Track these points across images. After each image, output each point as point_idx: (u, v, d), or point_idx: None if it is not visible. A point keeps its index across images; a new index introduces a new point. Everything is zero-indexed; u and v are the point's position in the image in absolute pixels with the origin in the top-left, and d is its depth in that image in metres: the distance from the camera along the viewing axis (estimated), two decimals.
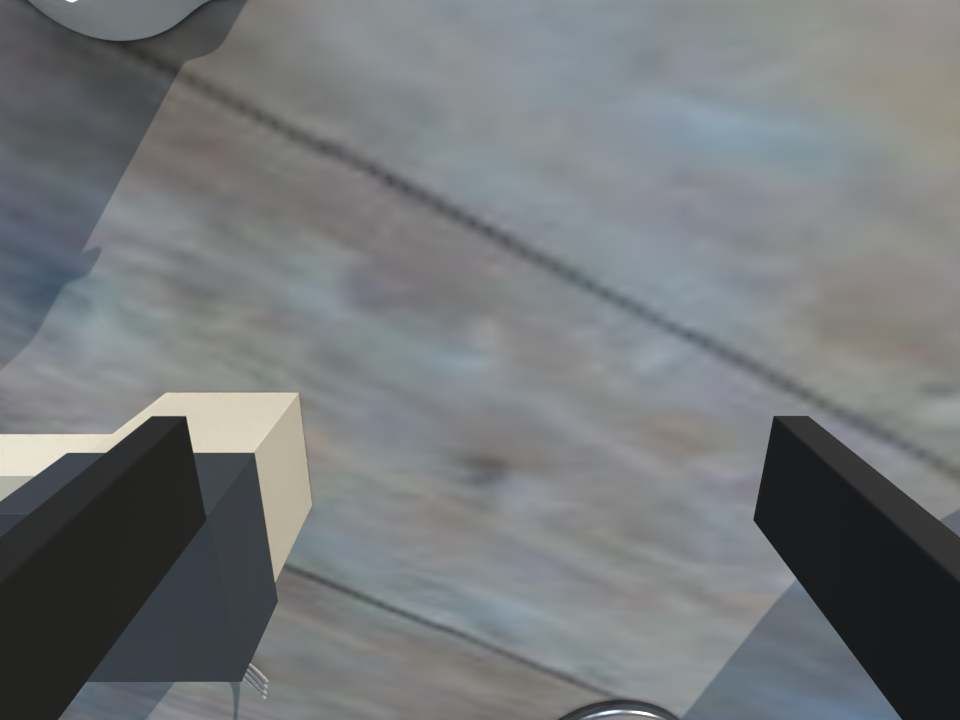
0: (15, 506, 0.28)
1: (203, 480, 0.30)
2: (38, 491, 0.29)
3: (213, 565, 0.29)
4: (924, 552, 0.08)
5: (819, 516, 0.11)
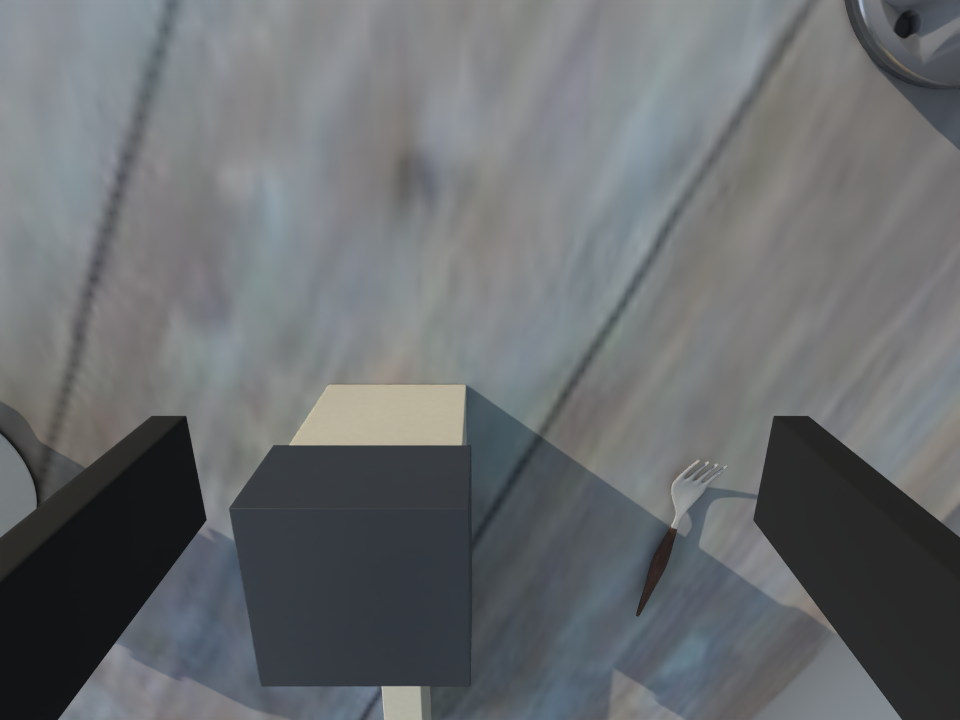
0: None
1: None
2: None
3: (297, 513, 0.26)
4: (924, 552, 0.08)
5: (819, 516, 0.11)
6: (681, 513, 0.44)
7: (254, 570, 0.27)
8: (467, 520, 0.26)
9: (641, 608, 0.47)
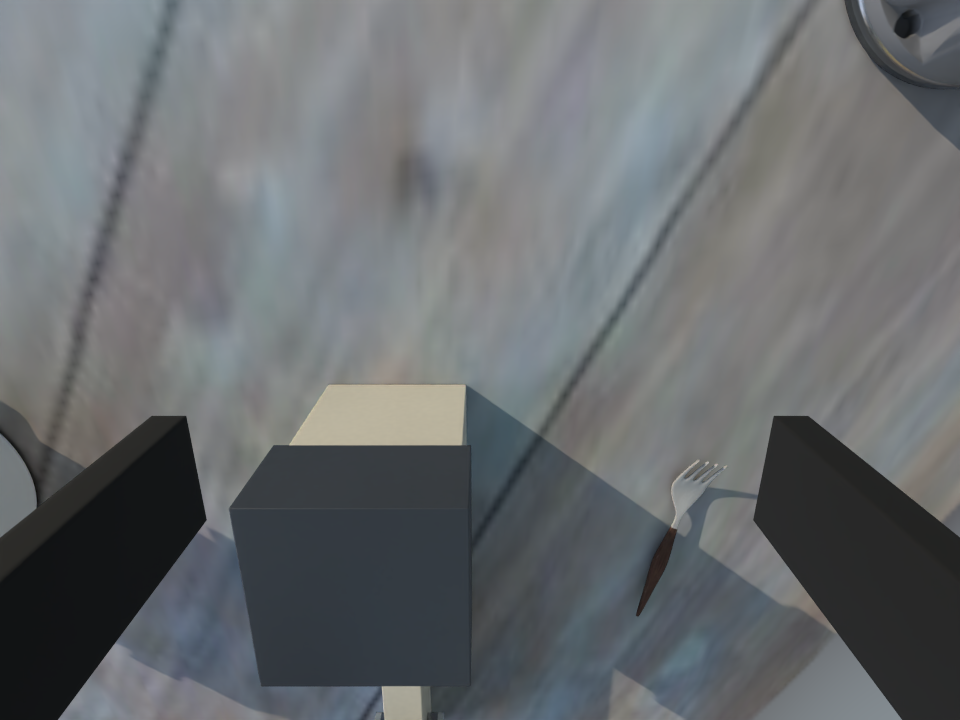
0: None
1: None
2: None
3: (297, 513, 0.26)
4: (924, 552, 0.08)
5: (819, 516, 0.11)
6: (681, 513, 0.44)
7: (253, 570, 0.27)
8: (467, 520, 0.26)
9: (641, 608, 0.47)
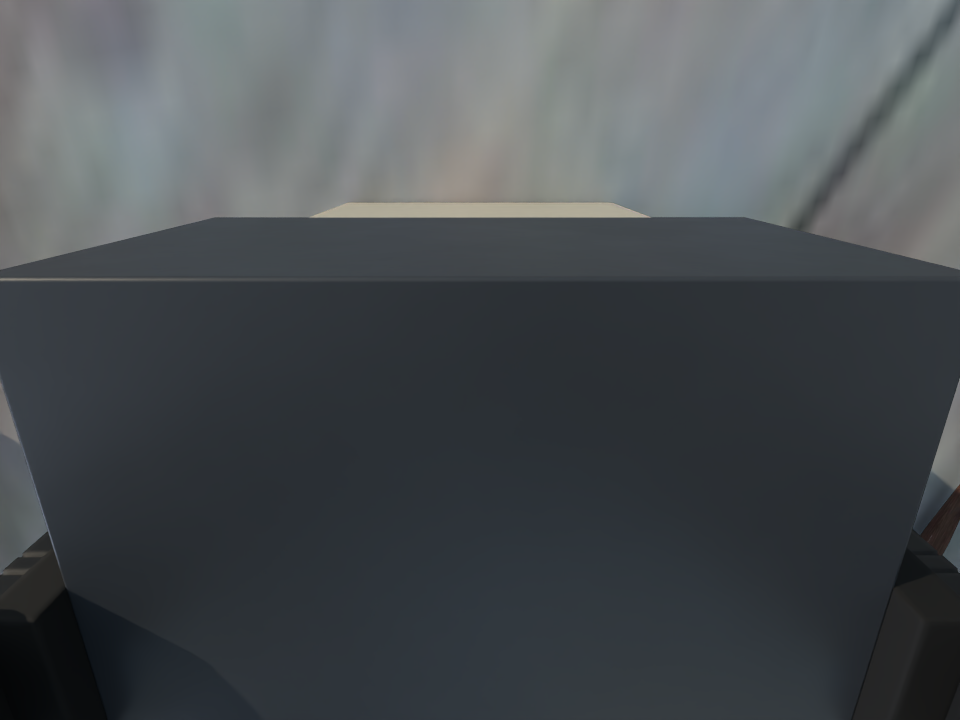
0: None
1: None
2: None
3: (260, 302, 0.06)
4: None
5: None
6: None
7: (105, 546, 0.07)
8: None
9: None
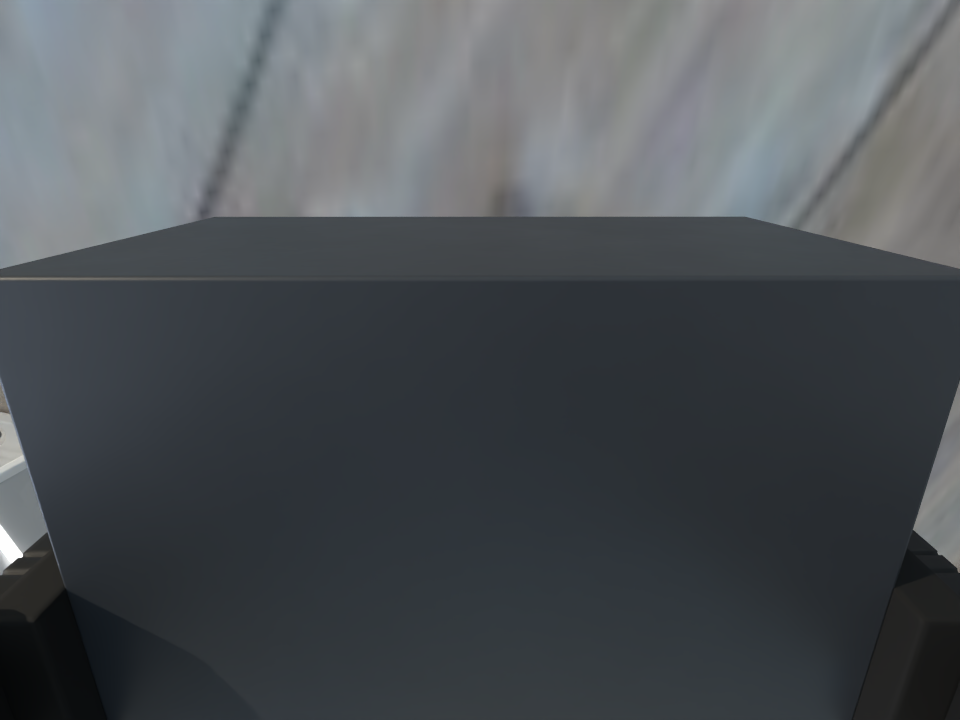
0: None
1: None
2: None
3: (259, 300, 0.06)
4: None
5: None
6: None
7: (103, 546, 0.07)
8: None
9: None
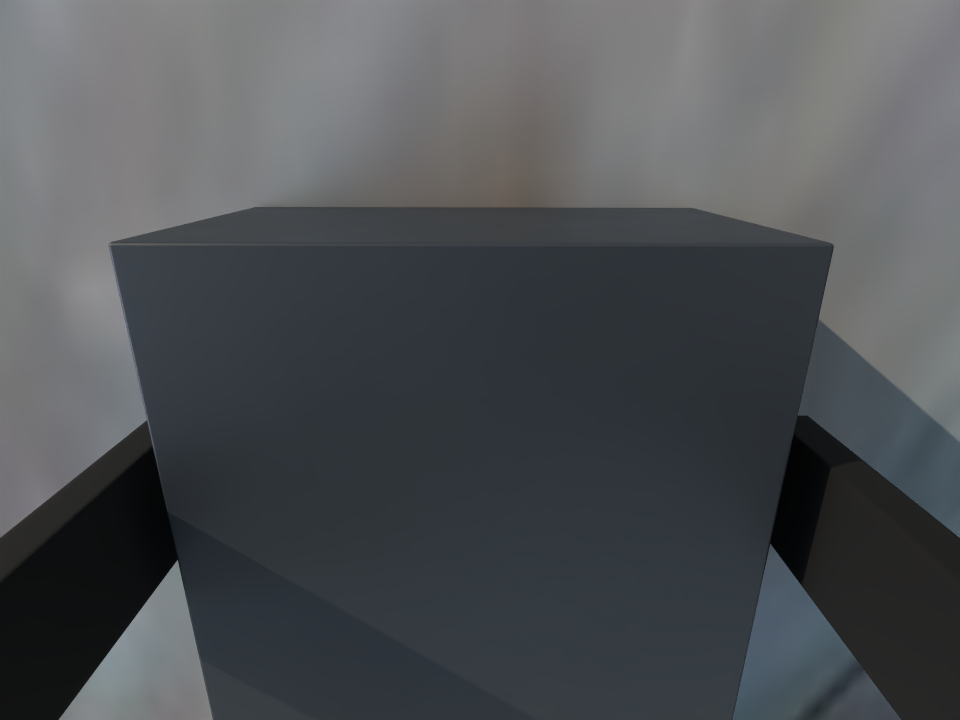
0: None
1: None
2: None
3: (315, 260, 0.09)
4: (923, 551, 0.08)
5: (818, 515, 0.11)
6: None
7: (192, 447, 0.10)
8: (821, 286, 0.09)
9: None
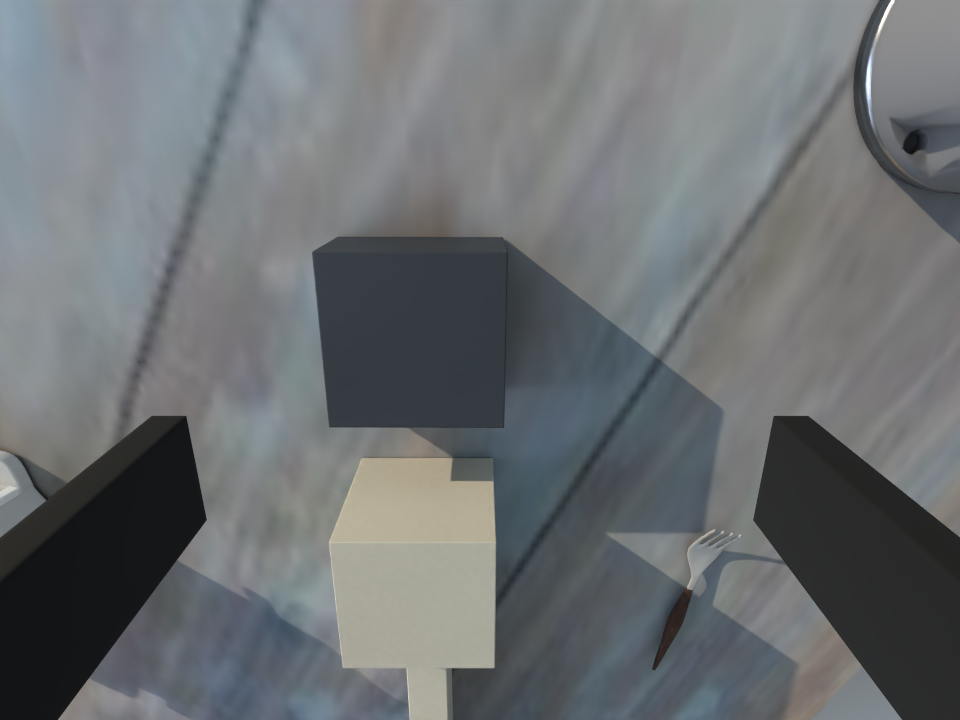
0: None
1: None
2: None
3: (367, 256, 0.32)
4: (924, 552, 0.08)
5: (818, 516, 0.11)
6: (697, 575, 0.46)
7: (329, 311, 0.33)
8: (505, 264, 0.32)
9: (657, 663, 0.49)
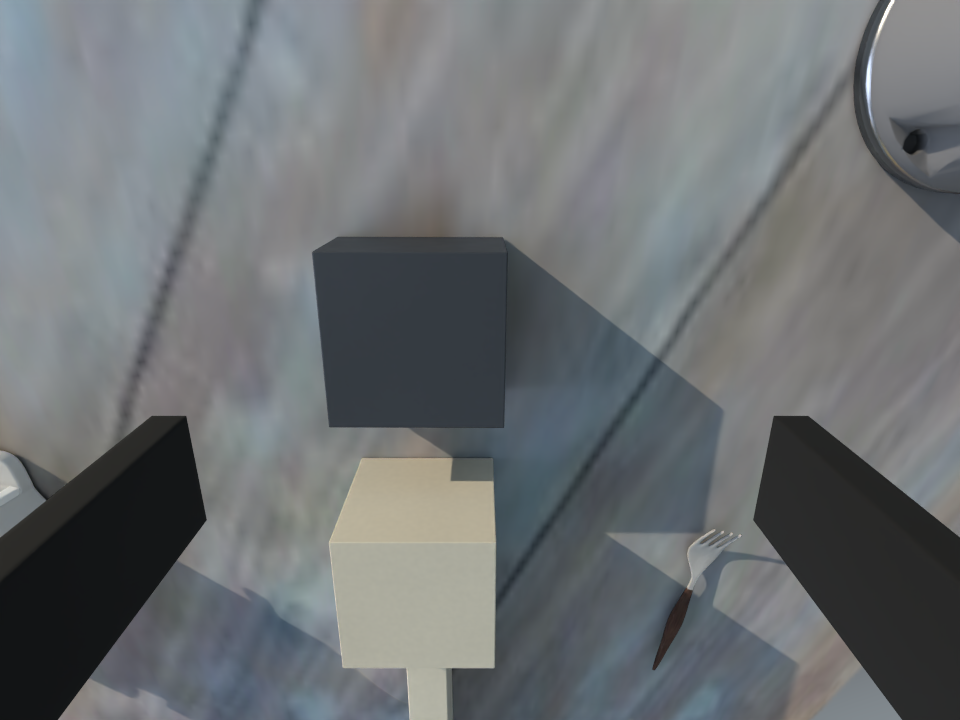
0: None
1: None
2: None
3: (367, 256, 0.32)
4: (924, 552, 0.08)
5: (818, 516, 0.11)
6: (697, 575, 0.46)
7: (329, 311, 0.33)
8: (505, 264, 0.32)
9: (657, 663, 0.49)
